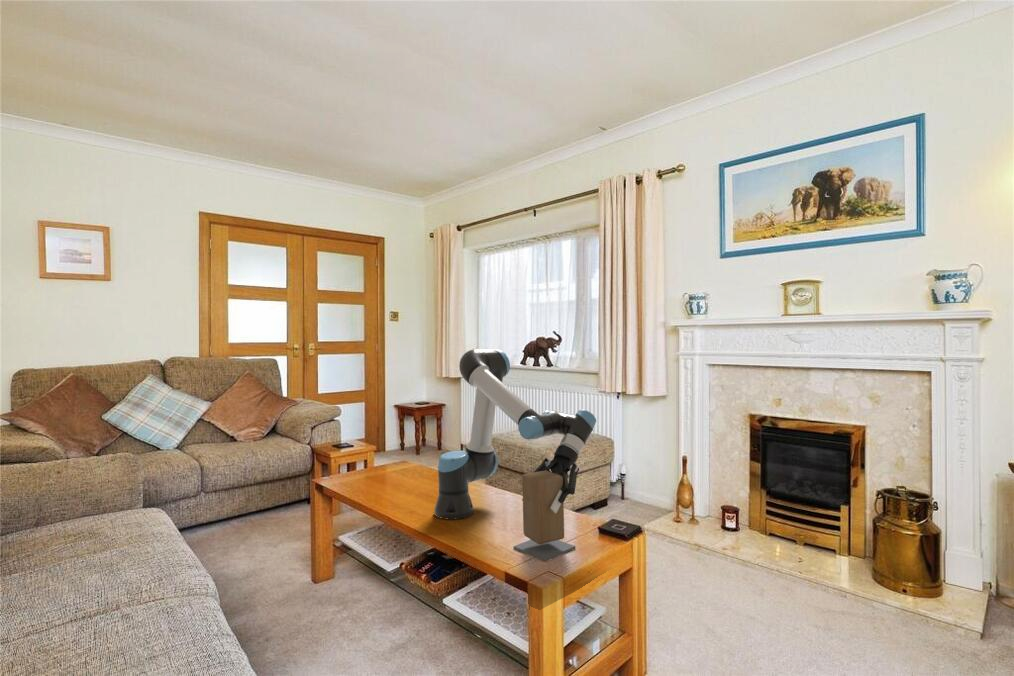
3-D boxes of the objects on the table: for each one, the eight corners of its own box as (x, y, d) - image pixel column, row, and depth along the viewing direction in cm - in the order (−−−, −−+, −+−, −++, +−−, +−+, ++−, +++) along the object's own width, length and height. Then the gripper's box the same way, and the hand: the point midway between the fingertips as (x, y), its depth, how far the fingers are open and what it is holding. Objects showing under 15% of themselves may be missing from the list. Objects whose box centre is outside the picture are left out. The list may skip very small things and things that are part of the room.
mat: (513, 548, 163) (513, 546, 163) (543, 537, 173) (543, 534, 173) (545, 561, 153) (545, 559, 153) (575, 548, 162) (575, 546, 162)
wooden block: (522, 535, 164) (520, 473, 165) (548, 529, 169) (547, 469, 170) (538, 546, 156) (537, 480, 156) (565, 539, 160) (564, 475, 161)
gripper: (602, 462, 165) (573, 521, 154) (547, 452, 182) (518, 505, 172) (592, 448, 161) (561, 508, 151) (537, 439, 179) (506, 492, 168)
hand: (538, 506), depth 161 cm, fingers closed on wooden block, 12 cm apart
